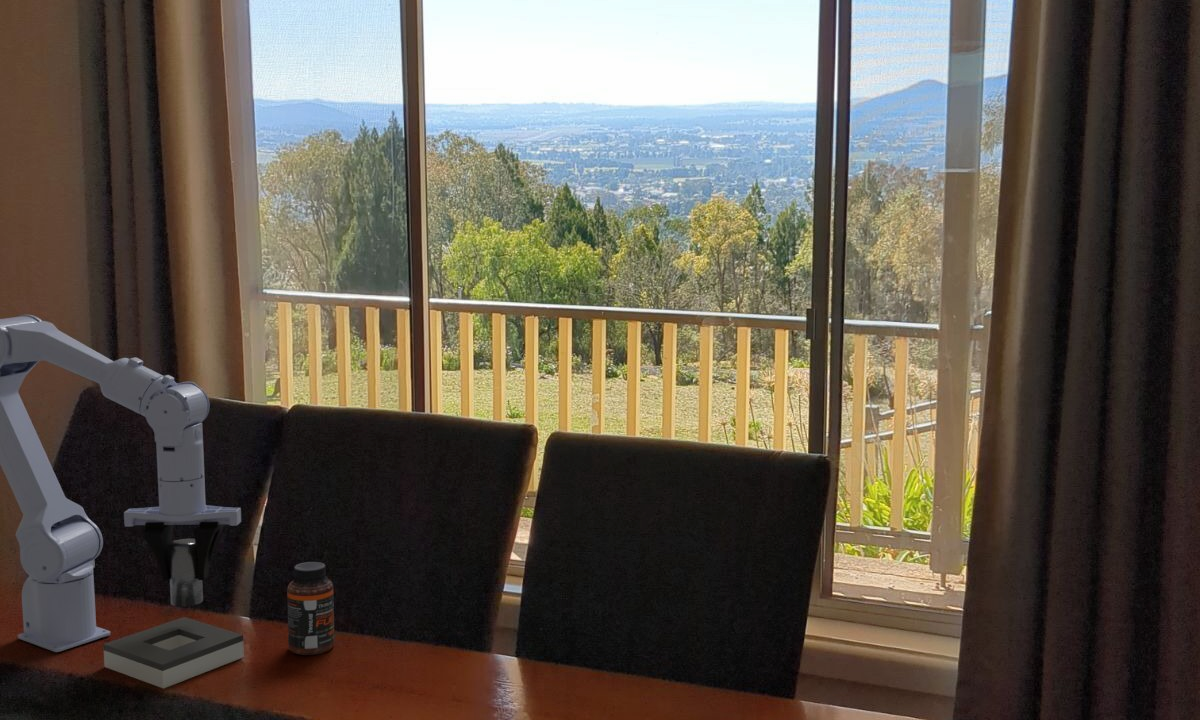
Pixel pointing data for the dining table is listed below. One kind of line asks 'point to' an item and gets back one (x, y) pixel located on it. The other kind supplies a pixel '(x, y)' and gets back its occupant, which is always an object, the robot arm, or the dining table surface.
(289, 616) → the supplement bottle
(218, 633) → the socket
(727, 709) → the dining table surface
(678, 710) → the dining table surface
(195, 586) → the steel peg
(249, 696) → the dining table surface
